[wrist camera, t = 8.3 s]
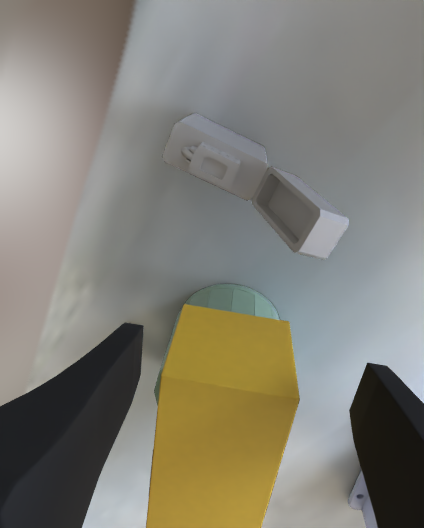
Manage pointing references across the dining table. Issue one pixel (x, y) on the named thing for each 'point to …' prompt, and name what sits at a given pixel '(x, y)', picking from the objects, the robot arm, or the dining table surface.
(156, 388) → the mug
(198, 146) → the lighter
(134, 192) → the dining table surface
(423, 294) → the dining table surface
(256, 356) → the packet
